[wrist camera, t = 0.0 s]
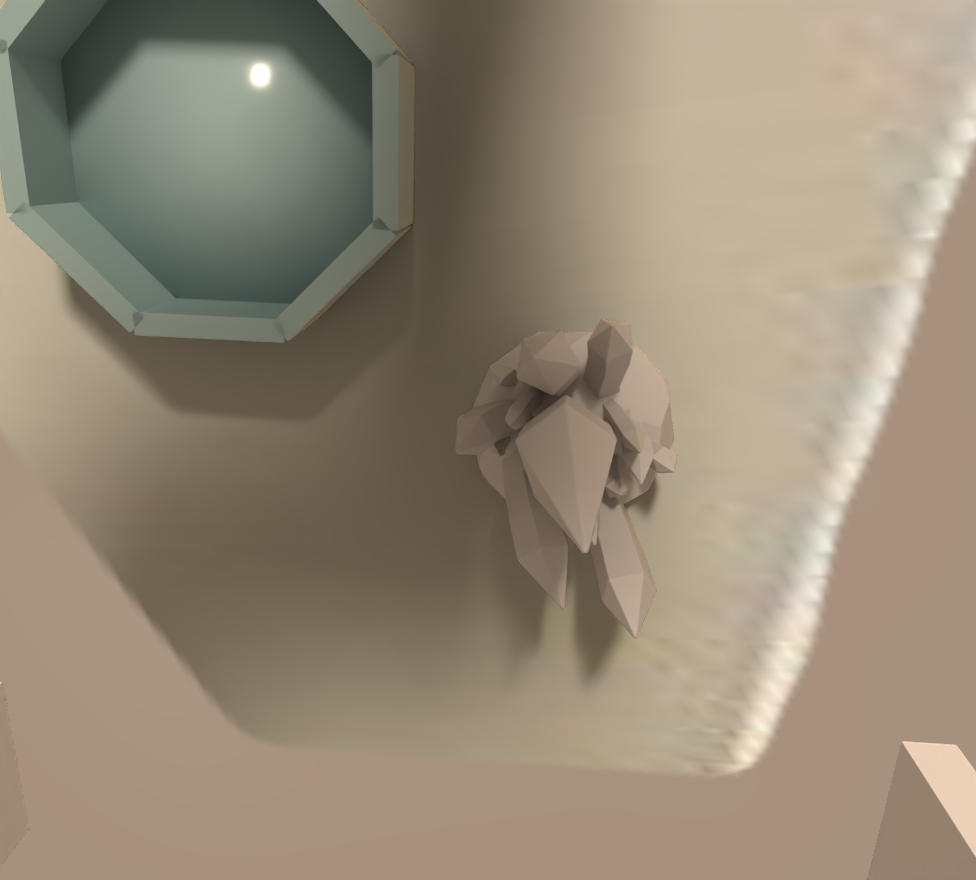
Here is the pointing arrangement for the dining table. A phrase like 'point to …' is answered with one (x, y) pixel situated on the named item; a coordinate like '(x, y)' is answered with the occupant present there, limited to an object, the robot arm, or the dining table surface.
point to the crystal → (575, 455)
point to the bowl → (207, 155)
